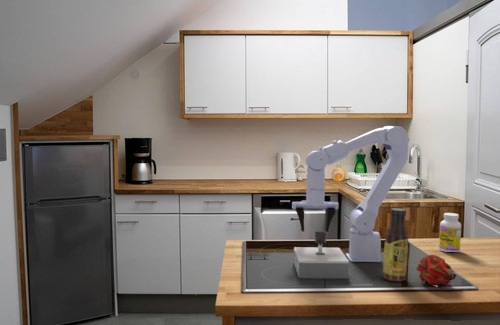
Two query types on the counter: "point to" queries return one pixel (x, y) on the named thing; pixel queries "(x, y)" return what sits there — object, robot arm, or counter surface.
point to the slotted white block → (321, 263)
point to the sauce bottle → (396, 247)
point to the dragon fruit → (435, 270)
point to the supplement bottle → (450, 233)
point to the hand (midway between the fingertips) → (314, 230)
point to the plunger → (320, 240)
